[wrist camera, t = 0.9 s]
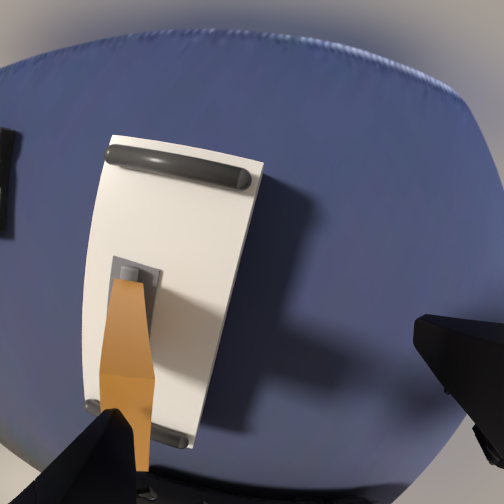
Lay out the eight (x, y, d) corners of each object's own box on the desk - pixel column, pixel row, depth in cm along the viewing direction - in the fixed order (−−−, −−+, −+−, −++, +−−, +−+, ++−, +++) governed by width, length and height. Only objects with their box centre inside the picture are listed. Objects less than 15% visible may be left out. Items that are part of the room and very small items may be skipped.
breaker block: (263, 173, 18) (263, 158, 13) (201, 417, 21) (189, 459, 16) (138, 147, 18) (102, 130, 13) (106, 383, 21) (79, 415, 16)
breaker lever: (144, 268, 15) (156, 365, 7) (132, 357, 16) (148, 477, 8) (116, 263, 14) (99, 358, 6) (108, 354, 15) (108, 474, 7)
